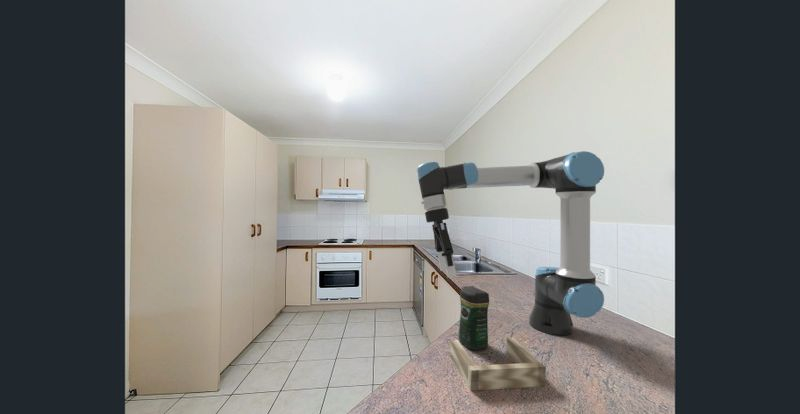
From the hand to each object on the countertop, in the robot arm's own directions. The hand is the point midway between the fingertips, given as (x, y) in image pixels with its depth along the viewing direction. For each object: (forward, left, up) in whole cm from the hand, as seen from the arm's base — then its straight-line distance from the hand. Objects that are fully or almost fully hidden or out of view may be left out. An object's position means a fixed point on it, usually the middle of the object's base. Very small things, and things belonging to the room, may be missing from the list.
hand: (448, 273), depth 93 cm
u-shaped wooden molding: (-9, +15, -23) cm, 29 cm away
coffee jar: (-9, 0, -24) cm, 26 cm away
